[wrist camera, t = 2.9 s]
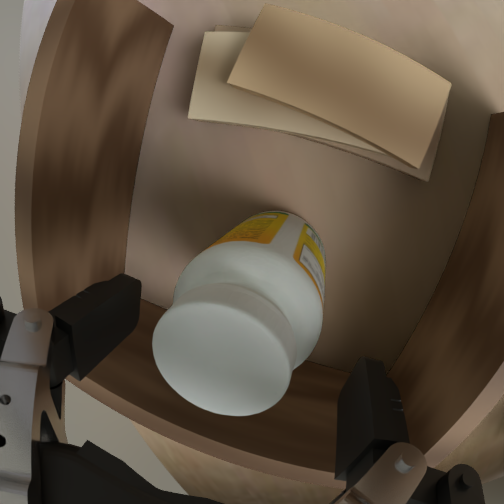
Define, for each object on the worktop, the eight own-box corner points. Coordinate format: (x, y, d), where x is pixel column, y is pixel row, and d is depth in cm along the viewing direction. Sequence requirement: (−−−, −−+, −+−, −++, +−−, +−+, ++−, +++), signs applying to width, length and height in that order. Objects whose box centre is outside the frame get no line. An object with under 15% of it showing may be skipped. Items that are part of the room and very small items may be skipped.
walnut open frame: (153, 26, 14) (66, -20, 6) (509, 126, 11) (602, 121, 3) (107, 300, 20) (33, 355, 13) (390, 399, 18) (401, 493, 10)
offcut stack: (225, 31, 13) (196, -1, 9) (440, 90, 11) (474, 72, 8) (199, 122, 15) (161, 113, 11) (416, 187, 13) (446, 197, 10)
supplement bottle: (343, 239, 15) (363, 347, 6) (295, 316, 17) (261, 451, 8) (253, 190, 16) (159, 235, 7) (214, 272, 18) (119, 373, 9)
